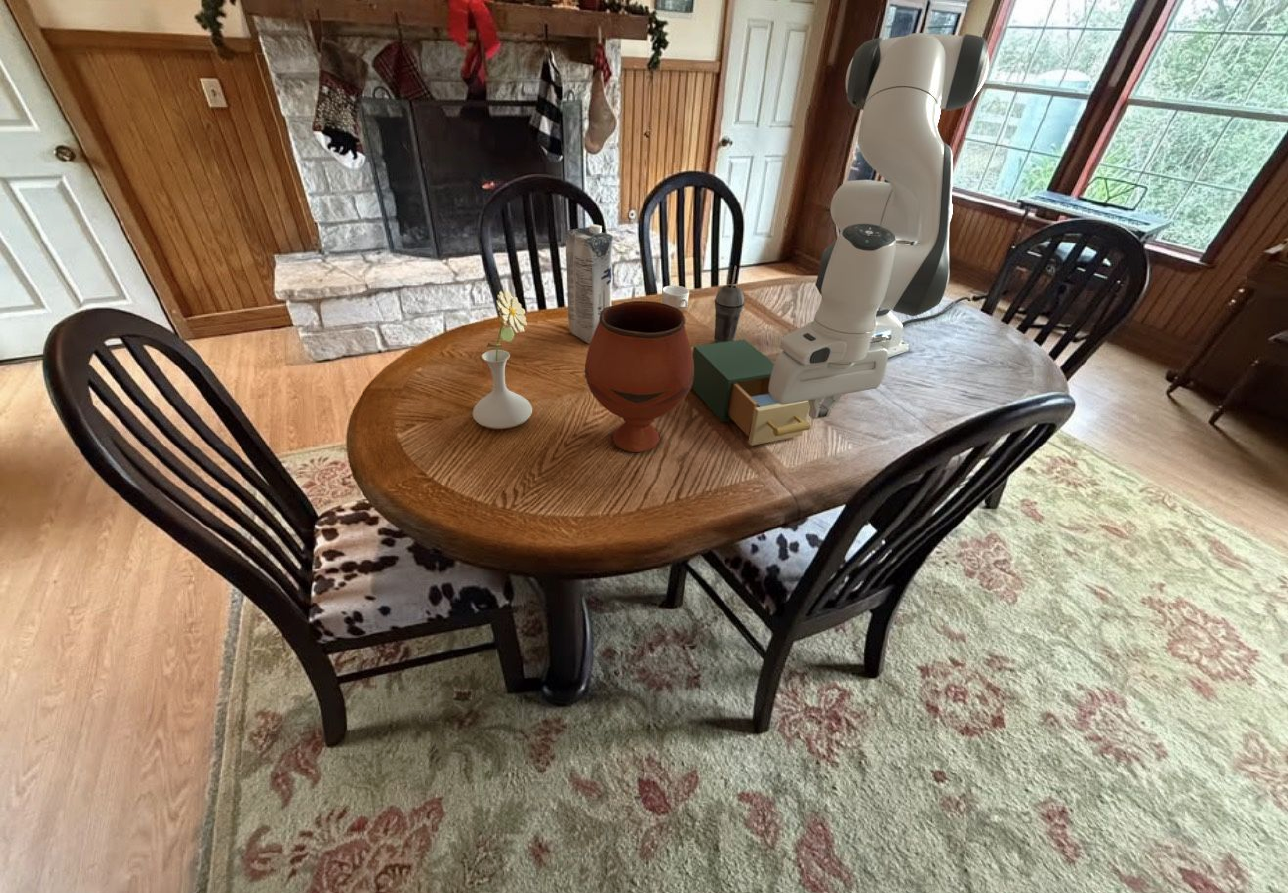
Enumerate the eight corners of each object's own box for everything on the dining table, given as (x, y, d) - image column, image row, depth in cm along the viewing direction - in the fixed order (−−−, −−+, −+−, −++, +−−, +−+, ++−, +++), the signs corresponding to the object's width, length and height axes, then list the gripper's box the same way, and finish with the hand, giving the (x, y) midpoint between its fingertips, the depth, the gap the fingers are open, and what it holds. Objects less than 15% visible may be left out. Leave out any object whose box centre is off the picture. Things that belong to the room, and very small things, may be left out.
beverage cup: (705, 348, 139) (715, 269, 127) (713, 337, 144) (723, 260, 132) (733, 354, 136) (745, 274, 125) (740, 342, 142) (753, 265, 130)
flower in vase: (504, 441, 102) (488, 314, 87) (461, 421, 107) (439, 297, 92) (550, 411, 111) (542, 291, 97) (508, 394, 116) (495, 277, 101)
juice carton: (587, 347, 136) (585, 234, 120) (564, 332, 142) (559, 223, 126) (615, 338, 141) (617, 229, 125) (592, 324, 147) (591, 218, 131)
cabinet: (775, 411, 115) (784, 371, 109) (722, 421, 111) (728, 380, 105) (738, 377, 127) (744, 339, 121) (689, 385, 123) (693, 346, 117)
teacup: (655, 305, 160) (657, 287, 157) (677, 301, 163) (679, 283, 160) (674, 318, 153) (676, 299, 150) (697, 313, 156) (699, 295, 153)
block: (765, 412, 111) (769, 393, 108) (777, 423, 108) (781, 404, 105) (746, 415, 110) (750, 396, 107) (758, 427, 106) (762, 408, 104)
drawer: (814, 447, 104) (824, 412, 99) (762, 458, 100) (770, 422, 96) (762, 398, 118) (769, 366, 113) (715, 407, 114) (720, 373, 109)
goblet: (682, 413, 113) (694, 295, 98) (690, 470, 98) (706, 341, 83) (589, 410, 112) (587, 291, 98) (582, 468, 97) (579, 337, 82)
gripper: (879, 324, 89) (855, 398, 97) (772, 338, 83) (756, 416, 91) (906, 340, 85) (880, 416, 93) (795, 356, 78) (777, 436, 86)
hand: (818, 416), depth 92 cm, fingers closed
